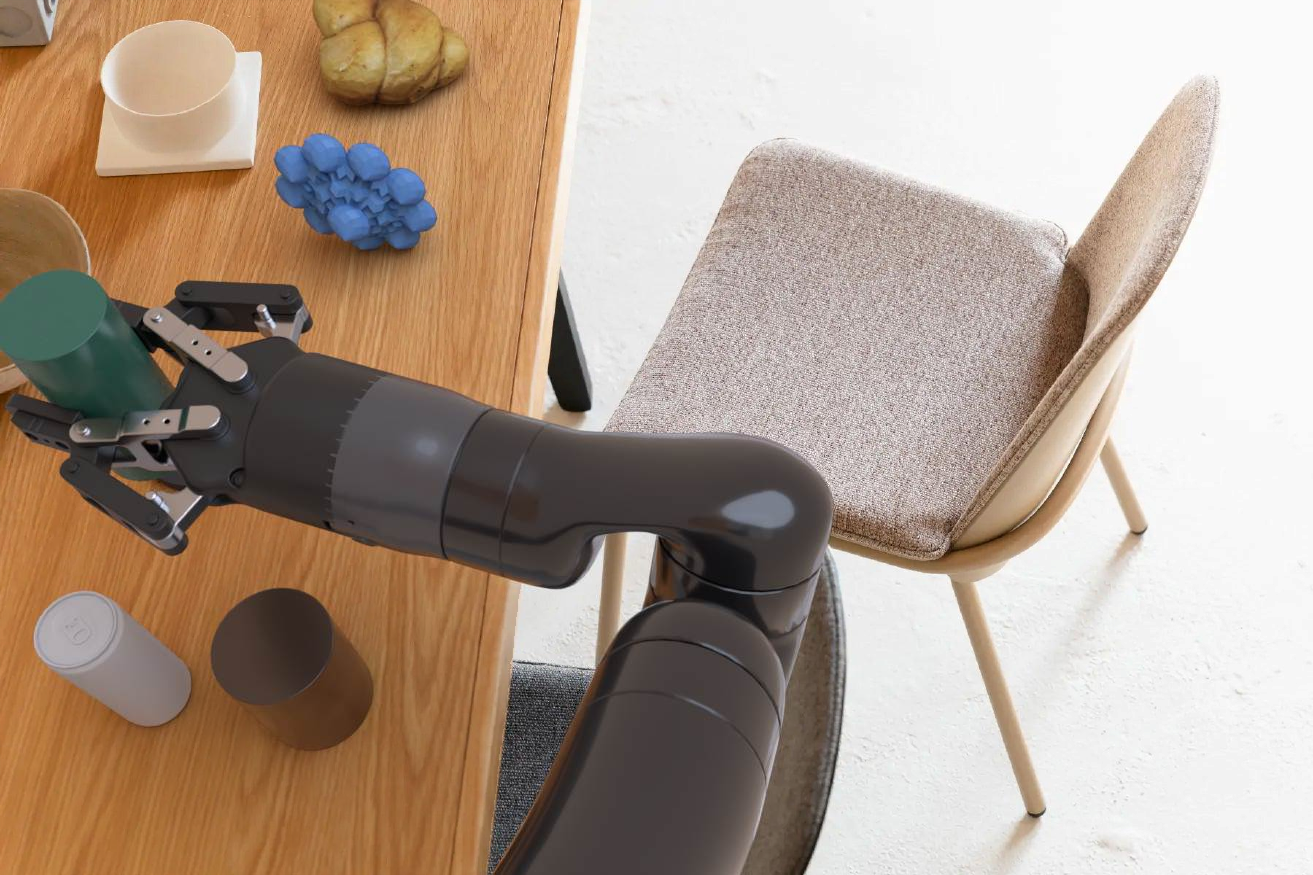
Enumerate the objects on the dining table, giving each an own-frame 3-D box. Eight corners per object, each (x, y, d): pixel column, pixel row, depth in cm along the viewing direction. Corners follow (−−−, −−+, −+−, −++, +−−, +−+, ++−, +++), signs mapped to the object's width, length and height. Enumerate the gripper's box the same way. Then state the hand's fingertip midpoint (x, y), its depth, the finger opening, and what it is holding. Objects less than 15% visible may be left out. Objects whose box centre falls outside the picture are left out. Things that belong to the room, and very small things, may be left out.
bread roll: (478, 43, 104) (464, -33, 97) (464, 123, 99) (447, 50, 92) (336, 40, 105) (311, -36, 98) (315, 120, 100) (287, 46, 93)
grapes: (289, 286, 91) (239, 182, 81) (307, 218, 95) (261, 110, 84) (436, 292, 91) (405, 188, 80) (449, 223, 94) (420, 115, 84)
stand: (297, 773, 73) (245, 730, 64) (245, 686, 76) (188, 633, 67) (394, 705, 75) (356, 654, 66) (339, 623, 78) (296, 564, 69)
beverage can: (169, 642, 77) (89, 571, 67) (210, 692, 76) (135, 628, 65) (106, 692, 76) (14, 628, 65) (146, 745, 74) (58, 688, 63)
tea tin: (127, 498, 58) (17, 380, 48) (88, 432, 60) (-26, 306, 50) (215, 447, 59) (124, 322, 50) (174, 383, 61) (79, 251, 52)
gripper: (428, 282, 52) (94, 196, 55) (281, 566, 45) (-90, 451, 48) (456, 372, 59) (157, 291, 61) (332, 633, 52) (3, 528, 55)
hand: (50, 362), depth 55 cm, fingers closed on tea tin, 5 cm apart
